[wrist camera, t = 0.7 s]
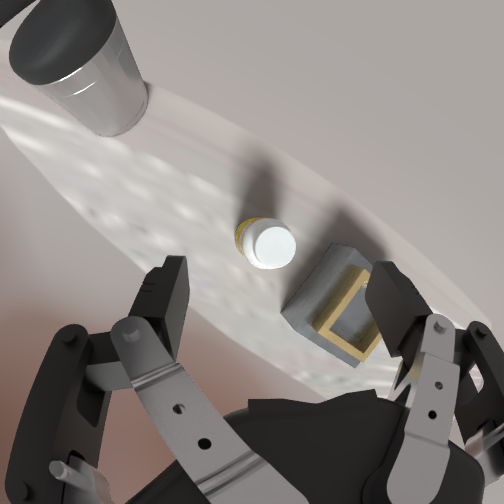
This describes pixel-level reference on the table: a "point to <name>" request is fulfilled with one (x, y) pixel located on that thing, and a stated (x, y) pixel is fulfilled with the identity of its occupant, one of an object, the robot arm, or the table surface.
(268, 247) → the supplement bottle
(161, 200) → the table surface
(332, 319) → the gold-rimmed square tray
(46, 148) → the table surface
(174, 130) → the table surface
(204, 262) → the table surface
